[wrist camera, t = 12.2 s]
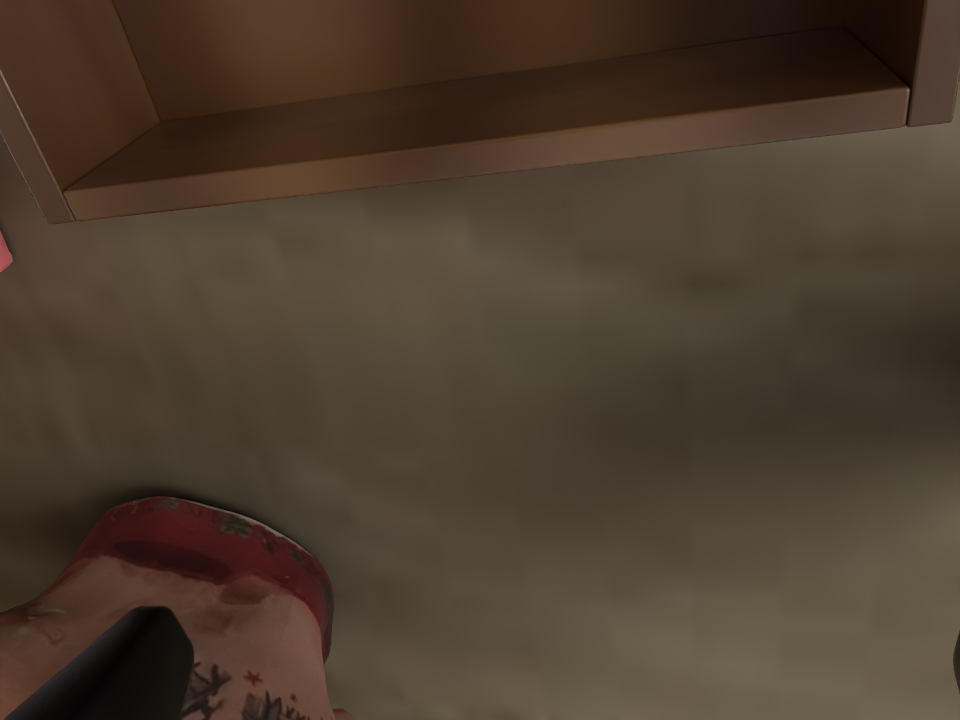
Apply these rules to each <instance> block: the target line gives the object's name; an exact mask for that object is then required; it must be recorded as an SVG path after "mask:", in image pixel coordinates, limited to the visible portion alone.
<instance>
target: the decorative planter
mask: <svg viewBox="0 0 960 720" xmlns="http://www.w3.org/2000/svg"><path fill="white" fill-rule="evenodd" d="M139 606H166V607H168V608H170V609H171V610H172V611H173V613H174V614H175V616H176V618H177V619H178V621H179V622H180V624H181V626H182V627H183V629H184V631H185V632H186V634H187V636H188V637H189V639H190V641H191V642H192V645H193V648H194V665H193V669H192V673H191V677H190V681H189V684H188V688H187V692H186V696H185V700H184V703H183V707H182V711H181V715H180V718H179V720H355V719H354V718H353V717H352V715H351V714H349V713H348V712H347V711H345V710H344V709H332V707H331V705H330V702H329V700H328V694H327V687H326V679H325V672H324V663H325V661H326V659H327V657H328V655H329V651H330V646H331V631H332V619H333V610H334V601H333V592H332V587H331V582H330V579H329V577H328V575H327V573H326V572H325V570H324V569H323V567H322V566H321V565H320V564H319V562H318V561H317V560H316V559H315V558H314V557H313V556H312V555H311V554H310V553H308V552H307V551H306V550H304V549H303V548H302V547H300V546H299V545H298V544H296V543H295V542H293V541H292V540H290V539H289V538H287V537H285V536H284V535H282V534H280V533H278V532H277V531H275V530H273V529H271V528H269V527H268V526H266V525H264V524H262V523H260V522H258V521H256V520H253V519H251V518H248V517H246V516H243V515H240V514H237V513H233V512H230V511H226V510H222V509H219V508H215V507H211V506H208V505H204V504H201V503H197V502H193V501H189V500H184V499H179V498H174V497H165V496H157V497H148V498H143V499H138V500H134V501H131V502H128V503H124V504H121V505H118V506H115V507H113V508H111V509H110V510H108V511H107V512H106V513H105V514H104V515H103V516H102V517H101V518H100V519H99V520H98V521H97V522H96V523H95V525H94V526H93V527H92V529H91V530H90V531H89V533H88V534H87V536H86V537H85V539H84V540H83V541H82V543H81V544H80V546H79V547H78V548H77V550H76V552H75V554H74V555H73V557H72V559H71V560H70V562H69V563H68V565H67V567H66V568H65V569H64V571H63V572H62V574H61V575H60V577H59V578H58V579H57V580H56V581H55V582H54V583H53V584H52V585H51V586H50V587H49V588H48V589H47V590H45V591H44V592H43V593H41V594H40V595H39V596H37V597H36V598H34V599H32V600H31V601H29V602H27V603H25V604H23V605H20V606H17V607H15V608H12V609H9V610H7V611H4V612H1V613H0V720H3V719H4V718H5V717H6V716H7V715H9V714H10V713H11V712H12V711H13V710H14V709H16V708H17V707H18V706H19V705H20V704H21V703H23V702H24V701H25V700H26V699H27V698H28V697H30V696H31V695H32V694H33V693H34V692H35V691H37V690H38V689H39V688H40V687H41V686H42V685H44V684H45V683H46V682H47V681H48V680H49V679H51V678H52V677H53V676H54V675H55V674H56V673H58V672H59V671H60V670H61V669H62V668H63V667H65V666H66V665H67V664H68V663H69V662H70V661H72V660H73V659H74V658H75V657H76V656H77V655H79V654H80V653H81V652H82V651H83V650H84V649H86V648H87V647H88V646H89V645H90V644H91V643H93V642H94V641H95V640H96V639H97V638H98V637H100V636H101V635H102V634H103V633H104V632H105V631H107V630H108V629H109V628H110V627H111V626H112V625H114V624H115V623H116V622H117V621H118V620H119V619H121V618H122V617H123V616H124V615H125V614H126V613H128V612H129V611H130V610H132V609H134V608H136V607H139Z"/></svg>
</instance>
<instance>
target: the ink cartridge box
mask: <svg viewBox="0 0 960 720" xmlns="http://www.w3.org/2000/svg"><path fill="white" fill-rule="evenodd" d="M11 263H12V255H11V253H10V252H9V250H8V248H7V245H6V243H5V240H4V238H3V235H2V233H1V231H0V272H2V271H3V270H4V269H6V268H7V267H8V266H9V265H10V264H11Z"/></svg>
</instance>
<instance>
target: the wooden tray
mask: <svg viewBox="0 0 960 720" xmlns="http://www.w3.org/2000/svg"><path fill="white" fill-rule="evenodd" d="M959 77H960V0H0V134H1V136H2V137H3V139H4V141H5V143H6V145H7V147H8V149H9V151H10V153H11V155H12V157H13V159H14V161H15V163H16V164H17V166H18V168H19V170H20V172H21V174H22V176H23V178H24V180H25V182H26V184H27V186H28V188H29V190H30V191H31V193H32V195H33V197H34V199H35V201H36V203H37V205H38V207H39V209H40V211H41V213H42V215H43V217H44V218H45V220H46V222H47V223H48V224H59V223H68V222H74V221H76V220H77V221H86V220H94V219H103V218H112V217H121V216H130V215H138V214H147V213H156V212H165V211H173V210H182V209H191V208H200V207H208V206H217V205H226V204H235V203H243V202H252V201H261V200H270V199H278V198H287V197H296V196H305V195H313V194H322V193H331V192H340V191H348V190H357V189H366V188H375V187H384V186H392V185H401V184H410V183H419V182H427V181H436V180H445V179H454V178H462V177H471V176H480V175H489V174H497V173H506V172H515V171H524V170H532V169H541V168H550V167H559V166H567V165H576V164H585V163H594V162H602V161H611V160H620V159H629V158H638V157H646V156H655V155H664V154H673V153H681V152H690V151H699V150H708V149H716V148H725V147H734V146H743V145H751V144H760V143H769V142H778V141H786V140H795V139H804V138H813V137H821V136H830V135H839V134H848V133H856V132H865V131H874V130H883V129H892V128H900V127H903V126H905V125H906V126H907V127H915V126H924V125H933V124H941V123H949V122H951V121H952V118H953V112H954V106H955V100H956V94H957V89H958V83H959Z"/></svg>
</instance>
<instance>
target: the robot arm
mask: <svg viewBox="0 0 960 720" xmlns="http://www.w3.org/2000/svg"><path fill="white" fill-rule="evenodd" d="M193 665H194V648H193V645H192V642H191V641H190V639H189V637H188V636H187V634H186V632H185V631H184V629H183V627H182V626H181V624H180V622H179V621H178V619H177V618H176V616H175V614H174V613H173V611H172V610H171V609H170V608H168V607H166V606H139V607H136V608H134V609H132V610H130V611H129V612H128V613H126V614H125V615H124V616H123V617H122V618H121V619H119V620H118V621H117V622H116V623H115V624H114V625H112V626H111V627H110V628H109V629H108V630H107V631H105V632H104V633H103V634H102V635H101V636H100V637H98V638H97V639H96V640H95V641H94V642H93V643H91V644H90V645H89V646H88V647H87V648H86V649H84V650H83V651H82V652H81V653H80V654H79V655H77V656H76V657H75V658H74V659H73V660H72V661H70V662H69V663H68V664H67V665H66V666H65V667H63V668H62V669H61V670H60V671H59V672H58V673H56V674H55V675H54V676H53V677H52V678H51V679H49V680H48V681H47V682H46V683H45V684H44V685H42V686H41V687H40V688H39V689H38V690H37V691H35V692H34V693H33V694H32V695H31V696H30V697H28V698H27V699H26V700H25V701H24V702H23V703H21V704H20V705H19V706H18V707H17V708H16V709H14V710H13V711H12V712H11V713H10V714H9V715H7V716H6V717H5V718H4V719H3V720H179V718H180V715H181V711H182V707H183V703H184V700H185V696H186V692H187V688H188V684H189V681H190V677H191V673H192V669H193ZM953 665H954V672H955V677H956V681H957V685H958V688H959V692H960V632H959V635H958V639H957V643H956V646H955V650H954V655H953Z"/></svg>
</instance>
